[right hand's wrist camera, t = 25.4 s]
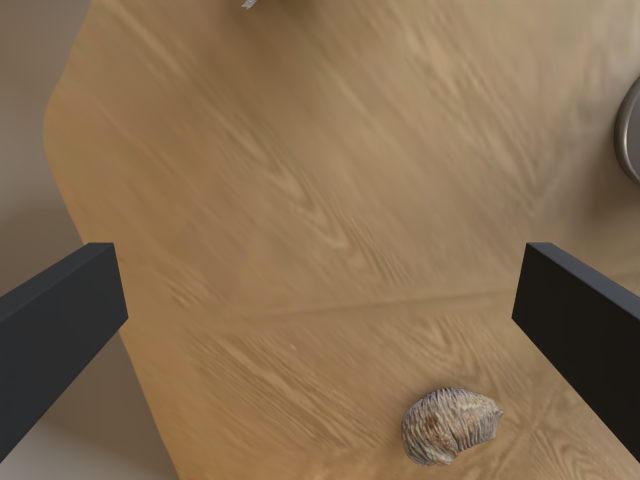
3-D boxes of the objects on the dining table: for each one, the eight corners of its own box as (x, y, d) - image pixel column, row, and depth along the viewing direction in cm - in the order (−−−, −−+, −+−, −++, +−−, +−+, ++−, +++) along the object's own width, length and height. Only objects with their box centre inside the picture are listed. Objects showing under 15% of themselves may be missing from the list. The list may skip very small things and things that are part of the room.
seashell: (475, 362, 54) (499, 384, 44) (502, 431, 53) (533, 469, 43) (385, 391, 56) (389, 419, 46) (410, 460, 54) (420, 503, 45)
